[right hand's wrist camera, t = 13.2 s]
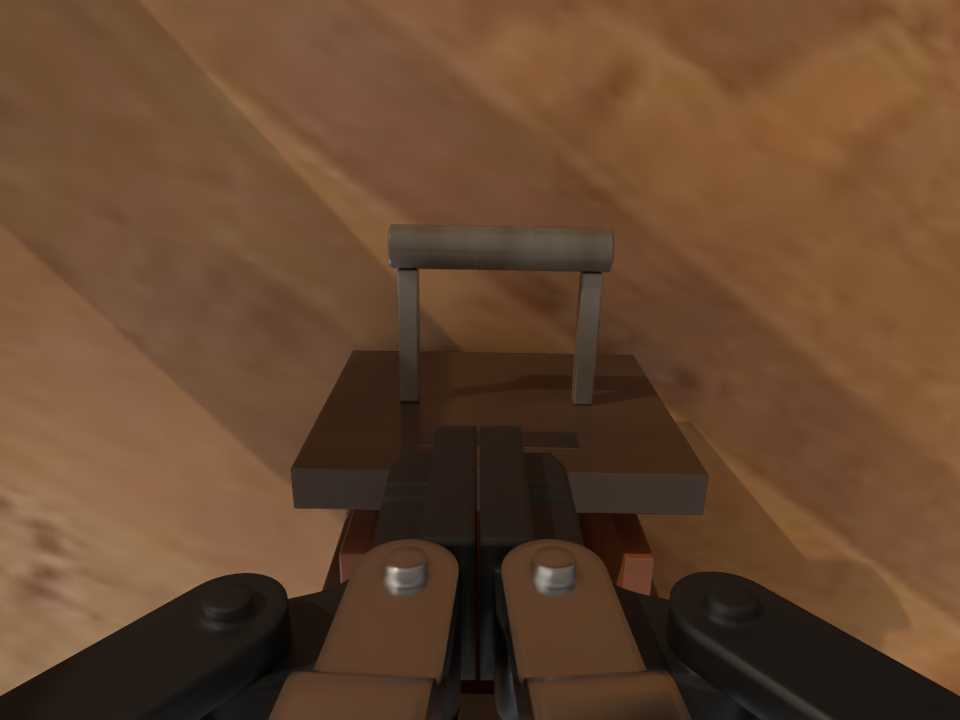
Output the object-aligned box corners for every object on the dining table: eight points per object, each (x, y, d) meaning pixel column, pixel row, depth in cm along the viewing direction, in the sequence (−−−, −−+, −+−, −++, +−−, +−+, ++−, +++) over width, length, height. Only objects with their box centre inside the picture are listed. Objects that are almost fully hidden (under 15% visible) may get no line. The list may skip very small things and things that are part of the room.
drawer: (345, 203, 24) (271, 254, 15) (648, 208, 24) (741, 263, 15) (368, 684, 31) (327, 899, 23) (600, 687, 31) (645, 903, 23)
